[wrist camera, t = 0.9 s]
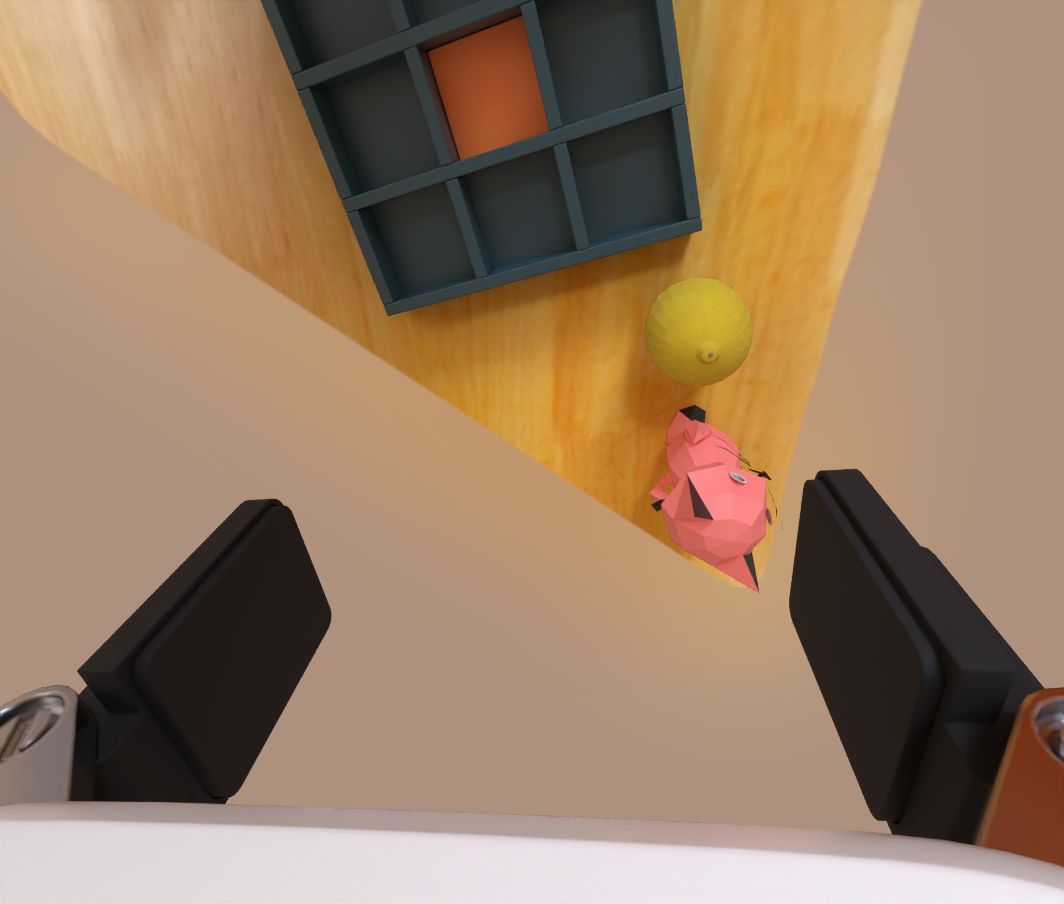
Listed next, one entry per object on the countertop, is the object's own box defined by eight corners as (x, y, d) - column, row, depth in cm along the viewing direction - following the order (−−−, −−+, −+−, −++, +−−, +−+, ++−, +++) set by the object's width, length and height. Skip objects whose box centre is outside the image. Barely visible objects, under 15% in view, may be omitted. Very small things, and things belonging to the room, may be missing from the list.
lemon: (676, 372, 36) (696, 427, 29) (621, 308, 34) (628, 350, 27) (752, 315, 33) (793, 360, 26) (697, 244, 32) (726, 271, 25)
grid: (259, -58, 27) (229, -76, 25) (632, -231, 23) (635, -270, 21) (400, 306, 35) (387, 316, 33) (695, 224, 31) (702, 230, 29)
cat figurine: (764, 452, 38) (829, 569, 27) (678, 502, 40) (707, 627, 30) (706, 375, 36) (753, 471, 25) (619, 434, 38) (628, 543, 28)
